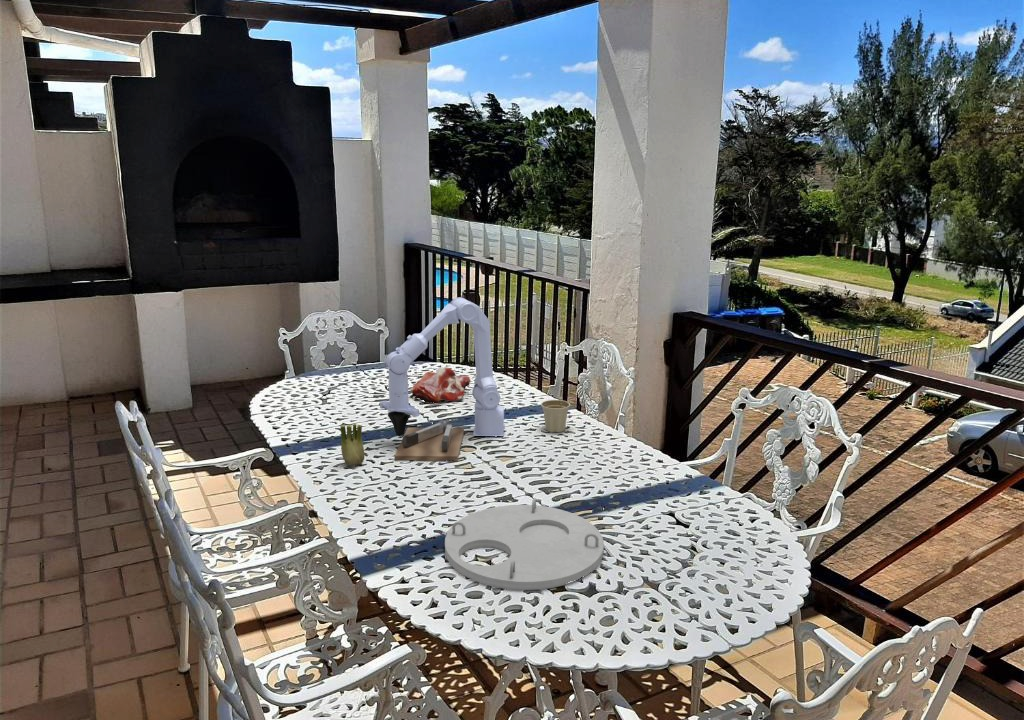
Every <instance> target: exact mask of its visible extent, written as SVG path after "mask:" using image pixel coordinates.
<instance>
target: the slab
mask: <svg viewBox="0 0 1024 720" xmlns="http://www.w3.org/2000/svg"><path fill="white" fill-rule="evenodd" d="M531 502H532V503H531V504H510V505H500V506H494V507H493V506H492V507H489V508H485V509H481V510H477V511H475V512H473V513H470V514H468V515H466V516H464V517H462V518H461V519H459V520H457V521H455V522H454V523H453V524H452V526H451V527H450V528H448V531H447V533H446V534H445V538H444V555H445V557H446V559H447V561H448V562H449V564H450V565H451V566H452V568H454V569H455V570H456V571H457V572H459V573H460V574H461V575H463V576H464V577H465V578H468V579H470V580H472V581H474V582H477V583H480V584H483V585H486V586H490V587H494V588H500V589H506V590H515V591H516V590H518V591H519V590H521V591H529V590H530V591H531V590H532V591H533V590H534V591H536V590H546V589H552V588H558V587H563V586H566V585H567V584H566V583H568V582H570V581H574V580H577V579H579V578H581V577H583V576H585V575H587V574H588V575H590V574H591V573H592V572H594V571H595V570H596V569H597V568H598V567H599V565H601V562H602V560H603V557H604V549H605V547H604V546H605V544H604V538H603V536H602V533H601V532H600V531H599V529H598V528H597V527H596V526H595V525H594V524H593V523H591V522H590V521H588V520H587V519H585V518H583V516H580V515H577V514H575V513H573V512H570V511H566V510H564V509H560V508H556V507H551V506H544V505H537V500H536V498H532V501H531ZM478 548H495V549H498V550H502V551H503V552H505V553H506V554H507V555H509V557H508V558H507V559H505V560H504V561H502V562H500V563H497V564H492V565H479V564H478V565H477V564H472V563H469V562H466V561H465V560H463V559H462V558H461V556H462V555H463V554H464V553H465V552H467V551H470V550H472V549H478ZM597 566H598V567H597ZM596 567H597V568H596ZM595 568H596V569H595ZM594 569H595V570H594ZM593 570H594V571H593ZM590 572H591V573H590ZM589 573H590V574H589ZM588 575H587V576H588ZM585 577H586V576H585ZM583 578H584V577H583ZM581 579H582V578H581ZM579 580H580V579H579ZM577 581H578V580H577ZM565 584H566V585H565Z"/></svg>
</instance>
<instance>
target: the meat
mask: <svg viewBox="0 0 1024 720" xmlns="http://www.w3.org/2000/svg"><path fill="white" fill-rule="evenodd" d="M470 384H471V378H470V376H467V375H463V374H459V375H456V372H455V371H454V370H453V369H452V368H451V367H447V366H443V367H442V368H440V367H439V368H438V369H437V371H436V372H434V371H433V372H429V371H427V372H425V373H423V375H422V377H421V378H420V379H419V380H418V381H417V382H415V384H414V385H413V386H412V387H411V389H410V391H411V392H412V394H411V398H412V397H413V396H416V397H415V398H420V399H421V400H424V401H425V402H432V403H433V402H434V403H439V401H449V402H456V401H457V400H461V399H462V397H463V396H464V394H465V390H466V387H469V386H470Z"/></svg>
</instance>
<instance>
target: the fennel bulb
mask: <svg viewBox="0 0 1024 720" xmlns="http://www.w3.org/2000/svg"><path fill="white" fill-rule="evenodd" d="M339 427H340V434H341V435H340V436H341V440H340V441H341V442H340V444H341V447H340V448H341V456H342V459H343V461H344V463H345V464H346V465H347V466H350V467H358V466H360V465H361V464H362V463H364V462H365V461H364V460H365V447H364V443H363V439H362V437H363V436H362V435H363V434H362V429H363V425H362V424H356V423H352V424H348V425H345V424H343V425H339Z"/></svg>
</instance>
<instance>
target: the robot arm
mask: <svg viewBox="0 0 1024 720" xmlns="http://www.w3.org/2000/svg"><path fill="white" fill-rule="evenodd" d="M459 320H460V321H462V322H463V323H465V324H468V325H469V327H470V326H471V327H472V334H473V346H474V347H473V348H474V361H475V374H476V375H475V378H474V380H473V381H474V384H473V388H472V392H471V394H472V397H473V399H474V400H475V403H474V428H473V432H472V437H474V436H495V438H497V436H503V437H504V434H503V433H504V431H505V429H506V426H505V425H506V423H505V406H503V405H499V404H500V402H501V394H500V393H499V391H498V388H497V387H498V384H497V383H496V381H495V378H494V373H493V356H492V355H493V354H492V343H491V342H492V341H491V325H490V323H491V322H490V320H489V318H488V317H487V316H486V315H485V313H484V312H483V311H482V308H481V306H479V305H477V304H475V303H474V302H472V301H469V300H467V299H466V298H464V297H456V298H453V299H452V300H451V301H450V302H449V303H447V304H446V305H445V306H444V307H443V309H442V310H441V311H440V312H439V313H438V314H437V315H436V316H435V318H433V320H431V322H430V323H428V325H427V326H425V328H424V329H423V330H422V331H421V332H420V333H413V334H412V335H411V334H409V335H408V336H407V337H406V341H404V342H403V344H401V345H400V346H399V347H398V346H397V347H396V348H395V351H391V352H390V353H389V354H388V355H387V356H386V359H385V365H386V367H388V398H389V399H388V401H387V400H382V401H380V402H379V409H381V410H383V409H385V410H387V411H388V413H387V417H388V418H389V420H390V422H391V424H392V426H393V428H394V432H395V435H396V436H398V437H401V436H404V434H405V432H406V427H407V424H408V420H410V417H411V416H412V417H413V418H416V417H420V409H418V408H416V407H414V406H412V405H410V404H409V402H410V401H409V376H408V371H409V370H410V366H411V363H413V362H414V361H415V360H416V359H417V358H418V357H420V355H421V354H422V353H424V351H425V350H427V349H428V343H429V341H431V339H433V338H434V337H435V336H436V335H438V333H439V332H441V331H442V330H443V329H444V328H446V326H448V325H454V324H457V325H458V324H460V321H459Z"/></svg>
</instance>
